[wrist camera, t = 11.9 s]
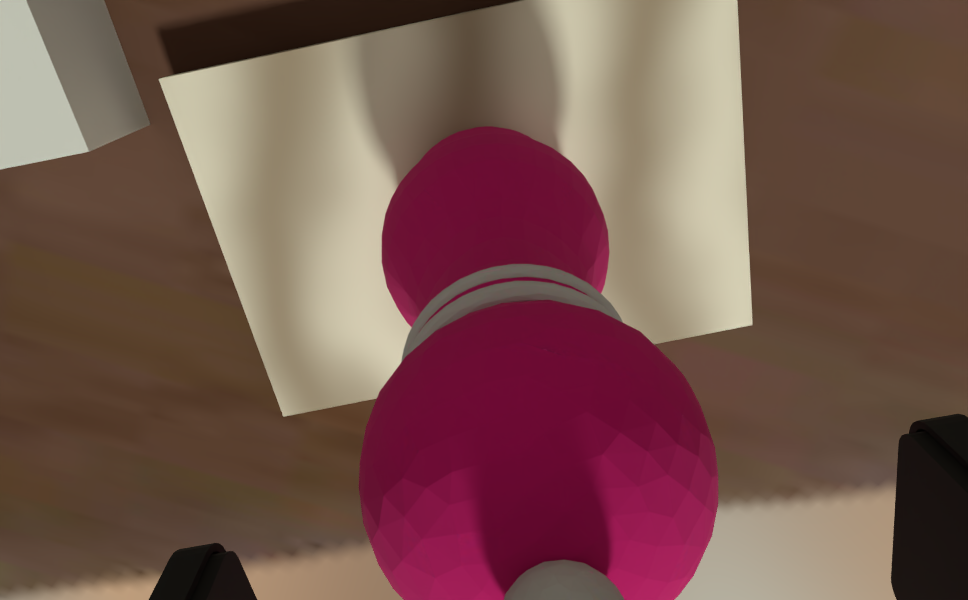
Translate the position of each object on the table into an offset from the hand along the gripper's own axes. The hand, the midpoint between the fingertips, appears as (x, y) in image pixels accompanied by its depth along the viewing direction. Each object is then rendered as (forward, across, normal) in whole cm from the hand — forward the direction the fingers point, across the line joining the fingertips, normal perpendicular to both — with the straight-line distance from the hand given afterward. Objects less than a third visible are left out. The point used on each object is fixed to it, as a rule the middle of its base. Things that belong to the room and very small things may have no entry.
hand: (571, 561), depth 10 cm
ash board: (+20, +1, 0) cm, 20 cm away
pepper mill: (+18, +1, 0) cm, 18 cm away
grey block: (+20, +15, -8) cm, 26 cm away
